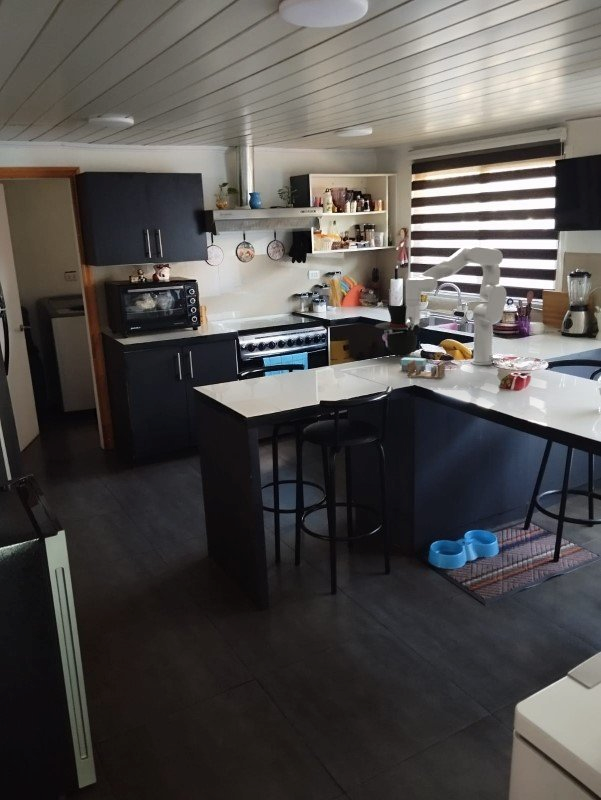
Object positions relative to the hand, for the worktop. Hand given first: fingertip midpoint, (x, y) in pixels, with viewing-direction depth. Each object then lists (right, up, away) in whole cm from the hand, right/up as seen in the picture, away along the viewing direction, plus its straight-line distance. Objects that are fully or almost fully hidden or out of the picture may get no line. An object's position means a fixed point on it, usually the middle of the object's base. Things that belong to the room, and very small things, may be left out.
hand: (413, 335), depth 323 cm
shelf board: (+1, -15, +4) cm, 15 cm away
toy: (+1, -7, +43) cm, 44 cm away
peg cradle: (+5, -21, -9) cm, 24 cm away
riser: (+1, -18, +5) cm, 18 cm away
